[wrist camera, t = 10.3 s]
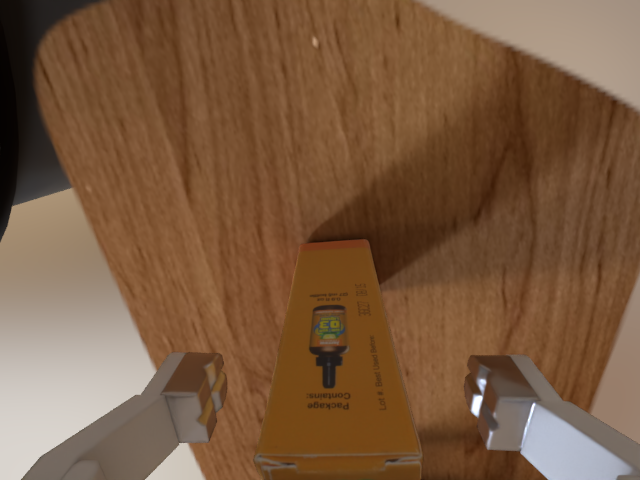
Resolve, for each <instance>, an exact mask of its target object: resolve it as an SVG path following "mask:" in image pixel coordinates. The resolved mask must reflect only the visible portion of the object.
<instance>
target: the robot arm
mask: <svg viewBox="0 0 640 480" xmlns="http://www.w3.org/2000/svg"><path fill="white" fill-rule="evenodd" d="M223 364H224V362H223V357H222V355H221V354H219V353H193V352H188V353H182V352H172V353H171V354H169V355H168V356H167V358H166V359H165V360H164V362H163V363H162V365H161V366H160V368H159V369H158V371H157V372H156V374H155V375H154V377H153V378H152V379H151V381H150V382H149V384H148V385H147V387H146V388H145V390H144V391H143V392H142V394H141V395H135V396H133V397H132V398H130V399H129V400H127V401H126V402H124V403H123V404H121V405H120V406H118V407H116V408H115V409H113V410H112V411H110V412H109V413H107V414H106V415H104V416H103V417H101V418H99V419H98V420H96V421H95V422H93V423H92V424H91V425H89V426H87V427H86V428H84V429H83V430H81V431H79V432H78V433H76V434H75V435H73V436H72V437H70V438H69V439H67V440H66V441H64V442H63V443H61V444H60V445H58V446H56V447H55V448H53V449H52V450H50V451H49V452H47V453H46V454H44V455H43V456H41V457H40V458H39V459H38V460H37V462H36V463H35V464H34V465H33V466H32V467H31V469H30V470H29V471H28V472H27V473H26V474H25V476H24V477H23V478H22V479H21V480H145V479H146V478H147V477H148V476H149V475H150V474H151V473H152V472H153V471H154V470H155V469H156V468H157V466H159V465H160V464H161V463H162V462H163V461H164V460H165V459H166V457H167V456H169V455H170V454H171V453H172V452H173V450H174V449H175V448H176V447H177V446H178V445H179V443H209V441H210V438H211V436H212V433H213V430H214V428H215V425H216V423H217V418H216V412H218V411H219V410H220V409H221V408H222V407H223V404H224V401H225V399H226V393H227V377H226V374H225V373H224V372H223V371H222V370H221V369H222V367H223ZM467 366H468V368H469V370H470V372H471V373H469V374H468V375H467V376H466V377H465V383H464V391H465V398H466V402H467V405H468V407H469V409H470V412H471V413H473V414H474V415H475V416H476V417H477V418H478V423H477V428H478V430H479V432H480V434H481V437H482V439H483V441H484V443H485V446H486V448H487V449H488V450H507V451H521V452H520V453H521V454H522V455H523V456H524V457H525V458H526V459H527V460H528V461H529V462H530V463H531V464H532V465H533V466H534V467H536V468H537V469H538V470H539V471H540V472H541V473H542V474H543V475H544V476H545V477H546V478H547V479H548V480H640V445H639V444H638V443H636V442H635V441H633V440H631V439H630V438H628V437H627V436H625V435H623V434H622V433H620V432H618V431H617V430H615V429H613V428H612V427H610V426H609V425H607V424H605V423H604V422H602V421H600V420H598V419H597V418H595V417H594V416H592V415H591V414H589V413H587V412H586V411H584V410H582V409H581V408H579V407H578V406H576V405H574V404H573V403H571V402H566V401H563V400H562V399H561V397H560V396H559V395H558V394H557V392H556V391H555V390H554V389H553V387H552V386H551V385H550V383H549V382H548V381H547V380H546V378H545V377H544V376H543V374H542V373H541V372H540V371H539V369H538V368H537V367H536V366H535V364H534V363H533V362H532V360H531V359H530V358H529V357H528V356H526V355H471V356H470V358H469V360H468V365H467Z"/></svg>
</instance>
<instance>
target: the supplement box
mask: <svg viewBox="0 0 640 480" xmlns="http://www.w3.org/2000/svg"><path fill="white" fill-rule="evenodd" d="M423 459H424V458H423V451H422V447H421V443H420V440H419V436H418V433H417V429H416V426H415V422H414V418H413V415H412V411H411V407H410V403H409V399H408V395H407V392H406V388H405V384H404V380H403V377H402V373H401V370H400V366H399V362H398V358H397V354H396V350H395V346H394V342H393V338H392V334H391V330H390V327H389V322H388V318H387V314H386V310H385V307H384V303H383V299H382V294H381V291H380V287H379V283H378V279H377V274H376V271H375V266H374V262H373V258H372V253H371V249H370V244H369V242H368V241H367V240H366V239H356V240H343V241H330V242H318V243H304V244H301V245H300V247H299V253H298V258H297V263H296V268H295V273H294V277H293V283H292V287H291V292H290V297H289V301H288V306H287V311H286V315H285V321H284V326H283V330H282V335H281V340H280V345H279V349H278V354H277V359H276V364H275V369H274V374H273V378H272V383H271V388H270V392H269V397H268V401H267V406H266V411H265V415H264V419H263V423H262V427H261V431H260V436H259V439H258V442H257V446H256V451H255V455H254V464H255V466H256V469H257V472H258V473H259V475H260V478H261V480H421V474H422V466H423Z"/></svg>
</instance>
